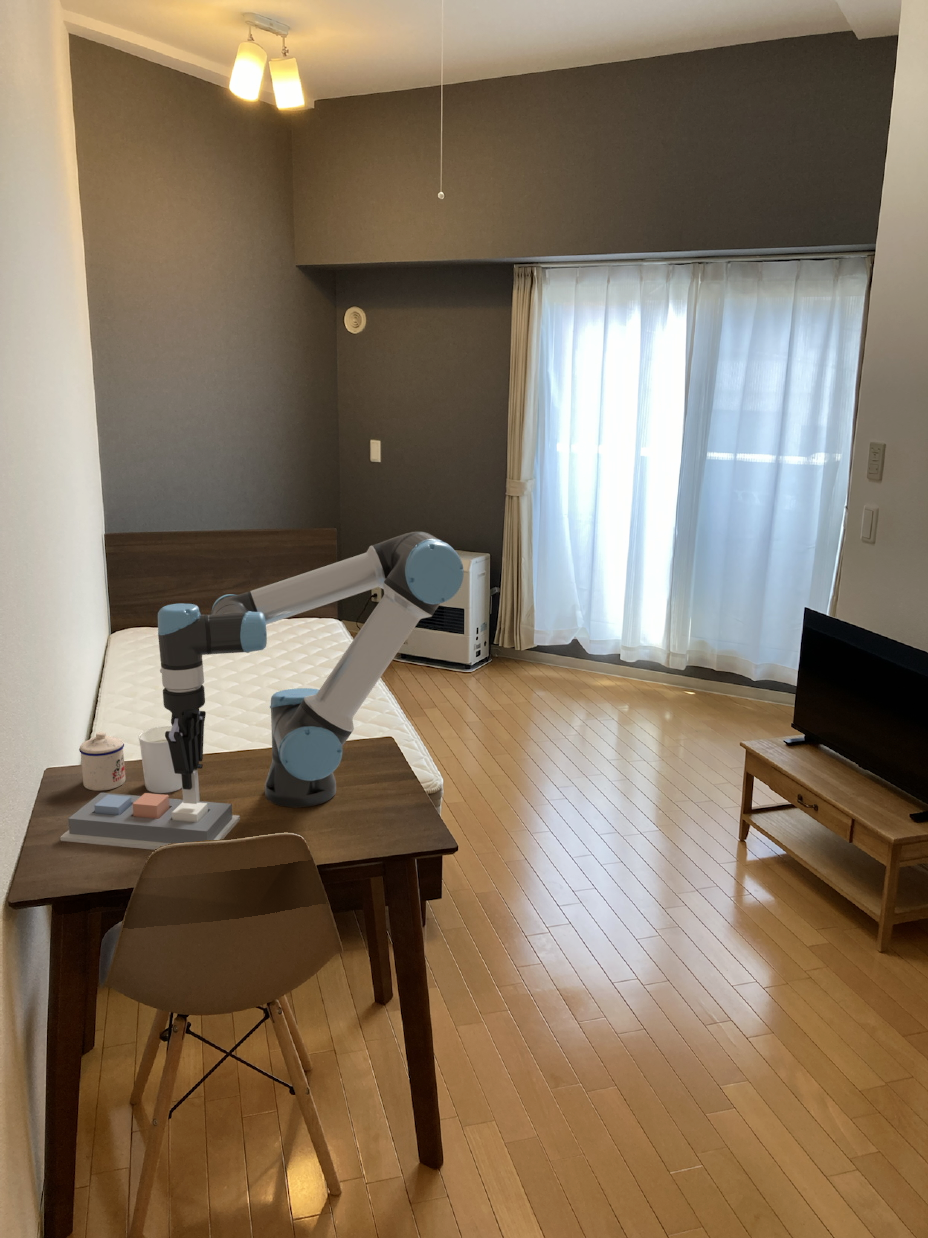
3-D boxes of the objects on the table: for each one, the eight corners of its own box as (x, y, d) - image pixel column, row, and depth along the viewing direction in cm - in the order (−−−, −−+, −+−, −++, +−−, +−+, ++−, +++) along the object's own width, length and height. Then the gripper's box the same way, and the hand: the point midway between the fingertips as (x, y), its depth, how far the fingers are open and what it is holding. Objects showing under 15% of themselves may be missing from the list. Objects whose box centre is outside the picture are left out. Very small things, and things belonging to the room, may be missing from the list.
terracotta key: (169, 809, 184) (168, 795, 183) (157, 820, 179) (156, 805, 178) (145, 806, 185) (144, 793, 184) (133, 818, 180) (132, 803, 179)
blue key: (132, 810, 185) (131, 796, 184) (119, 821, 180) (118, 807, 180) (108, 808, 186) (107, 794, 185) (95, 819, 181) (94, 805, 180)
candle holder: (196, 778, 207) (194, 727, 204) (176, 797, 197) (173, 744, 194) (155, 774, 208) (152, 724, 205) (133, 793, 199) (129, 740, 196)
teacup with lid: (122, 790, 200) (118, 740, 197) (78, 793, 198) (73, 741, 195) (132, 768, 211) (128, 720, 208) (90, 770, 210) (86, 722, 207)
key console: (240, 819, 188) (239, 801, 187) (209, 855, 173) (208, 835, 172) (101, 807, 192) (100, 789, 191) (60, 840, 178) (58, 821, 177)
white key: (208, 817, 183) (207, 803, 182) (197, 828, 178) (196, 814, 177) (184, 815, 184) (183, 801, 183) (172, 826, 179) (171, 812, 178)
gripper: (179, 674, 181) (187, 786, 187) (148, 696, 169) (157, 815, 174) (216, 676, 180) (223, 789, 186) (187, 698, 167) (195, 818, 173)
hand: (191, 801), depth 180 cm, fingers closed
